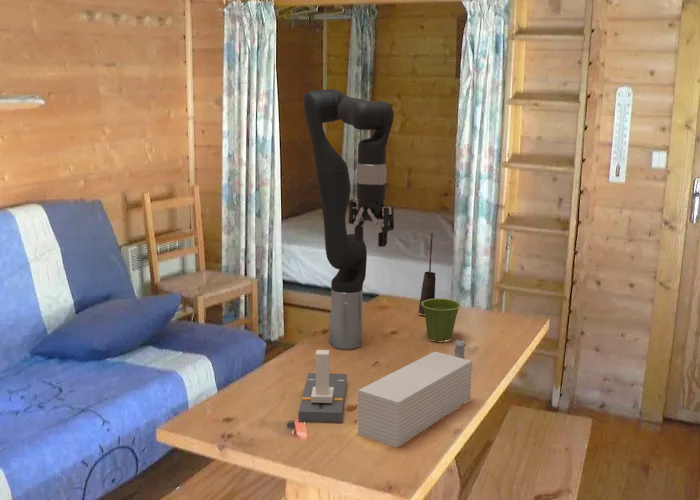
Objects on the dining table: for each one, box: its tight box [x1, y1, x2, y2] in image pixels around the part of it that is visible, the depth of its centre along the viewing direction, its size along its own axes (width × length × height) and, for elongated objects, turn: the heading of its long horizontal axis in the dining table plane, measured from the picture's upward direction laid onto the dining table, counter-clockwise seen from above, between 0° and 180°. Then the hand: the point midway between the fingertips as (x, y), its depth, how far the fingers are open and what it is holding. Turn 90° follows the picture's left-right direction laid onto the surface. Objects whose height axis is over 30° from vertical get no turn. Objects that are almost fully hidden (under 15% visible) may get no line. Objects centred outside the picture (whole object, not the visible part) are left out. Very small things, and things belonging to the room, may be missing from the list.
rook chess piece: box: [453, 339, 467, 359], centre depth 211 cm, size 4×4×8 cm
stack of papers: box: [357, 351, 473, 449], centre depth 180 cm, size 32×11×11 cm, turn 142°
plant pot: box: [421, 298, 462, 342], centre depth 235 cm, size 12×12×11 cm
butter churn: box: [418, 232, 436, 314], centre depth 256 cm, size 9×10×28 cm
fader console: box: [298, 372, 348, 424], centre depth 189 cm, size 24×10×3 cm, turn 178°
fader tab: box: [311, 349, 334, 403], centre depth 183 cm, size 6×5×12 cm
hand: (370, 243), depth 199 cm, fingers open, 8 cm apart
